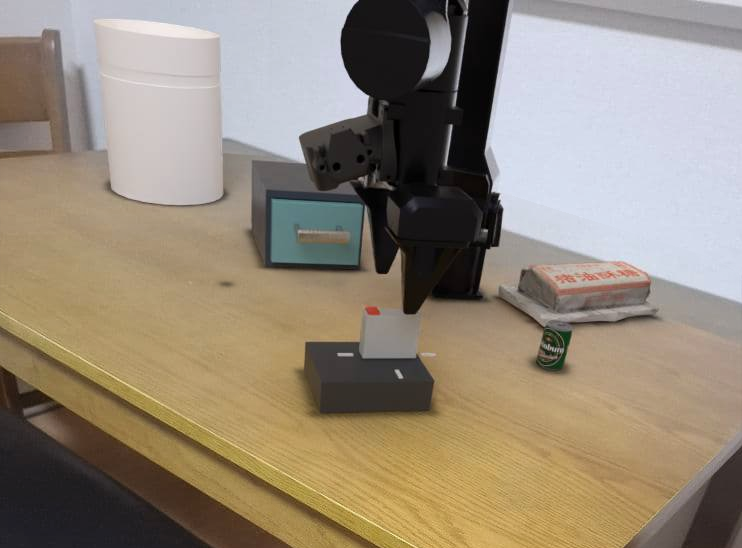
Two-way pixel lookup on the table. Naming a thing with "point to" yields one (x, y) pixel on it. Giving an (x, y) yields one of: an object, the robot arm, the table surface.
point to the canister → (161, 110)
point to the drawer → (315, 231)
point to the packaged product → (581, 292)
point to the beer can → (554, 345)
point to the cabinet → (290, 185)
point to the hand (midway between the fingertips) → (394, 292)
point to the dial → (388, 333)
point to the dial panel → (365, 380)
